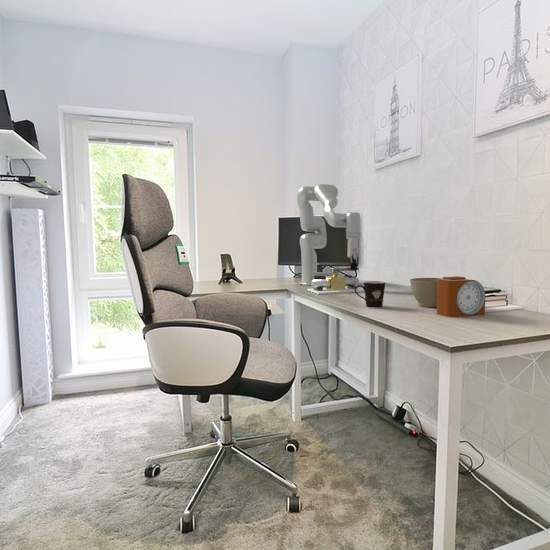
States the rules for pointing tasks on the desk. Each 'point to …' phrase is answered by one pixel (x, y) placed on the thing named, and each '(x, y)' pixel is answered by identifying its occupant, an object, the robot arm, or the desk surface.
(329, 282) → the valve pipe
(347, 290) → the board
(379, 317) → the desk surface
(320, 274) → the electrical switch
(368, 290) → the coffee mug
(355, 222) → the robot arm
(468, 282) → the alarm clock
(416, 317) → the desk surface
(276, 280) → the desk surface
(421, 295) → the planter bowl
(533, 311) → the desk surface
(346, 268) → the valve lever
